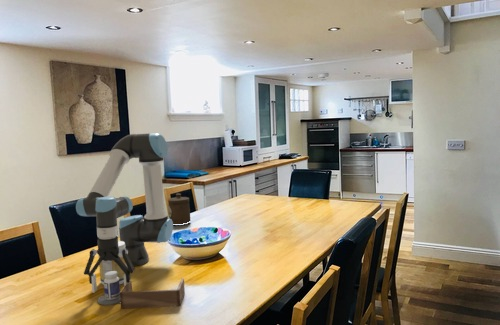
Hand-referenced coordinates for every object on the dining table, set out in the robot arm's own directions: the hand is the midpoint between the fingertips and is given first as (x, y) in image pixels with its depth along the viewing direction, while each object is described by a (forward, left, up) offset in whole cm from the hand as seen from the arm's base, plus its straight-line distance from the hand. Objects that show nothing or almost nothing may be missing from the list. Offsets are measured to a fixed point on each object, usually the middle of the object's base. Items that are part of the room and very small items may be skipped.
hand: (110, 290), depth 156 cm
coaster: (0, +1, -3) cm, 3 cm away
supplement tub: (-19, -4, -4) cm, 20 cm away
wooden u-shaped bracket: (+3, +18, -3) cm, 18 cm away
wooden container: (-126, +8, -4) cm, 126 cm away
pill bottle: (0, +1, -3) cm, 3 cm away
